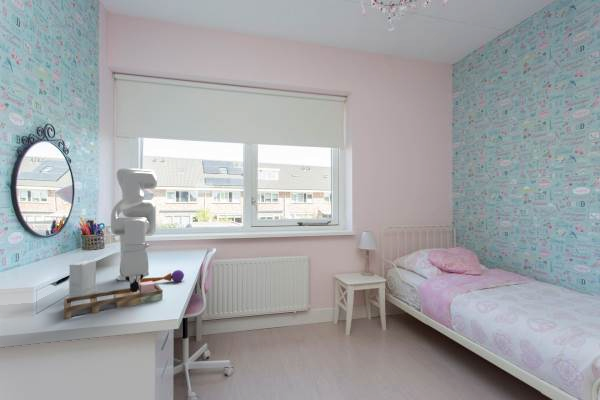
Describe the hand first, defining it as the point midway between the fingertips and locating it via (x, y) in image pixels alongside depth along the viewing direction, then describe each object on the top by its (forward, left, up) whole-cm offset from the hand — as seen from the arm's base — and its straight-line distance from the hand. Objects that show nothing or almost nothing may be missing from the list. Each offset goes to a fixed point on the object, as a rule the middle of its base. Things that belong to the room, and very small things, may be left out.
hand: (134, 291), depth 116 cm
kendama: (-21, +16, -4) cm, 26 cm away
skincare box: (-21, -16, -4) cm, 27 cm away
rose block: (0, +5, -1) cm, 5 cm away
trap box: (0, -6, -4) cm, 7 cm away
